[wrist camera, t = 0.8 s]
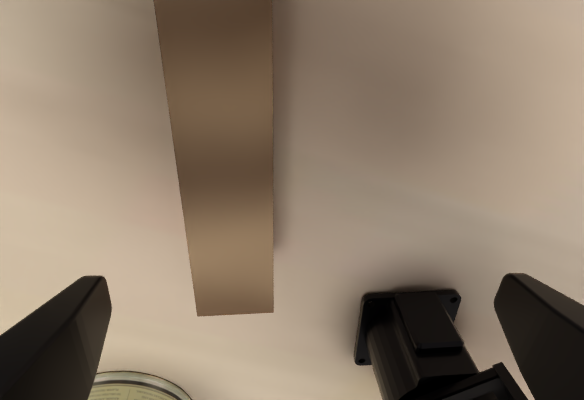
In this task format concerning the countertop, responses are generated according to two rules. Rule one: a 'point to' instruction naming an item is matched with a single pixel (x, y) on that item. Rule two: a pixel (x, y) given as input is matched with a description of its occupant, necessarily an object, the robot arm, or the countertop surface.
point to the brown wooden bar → (223, 145)
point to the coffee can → (134, 387)
